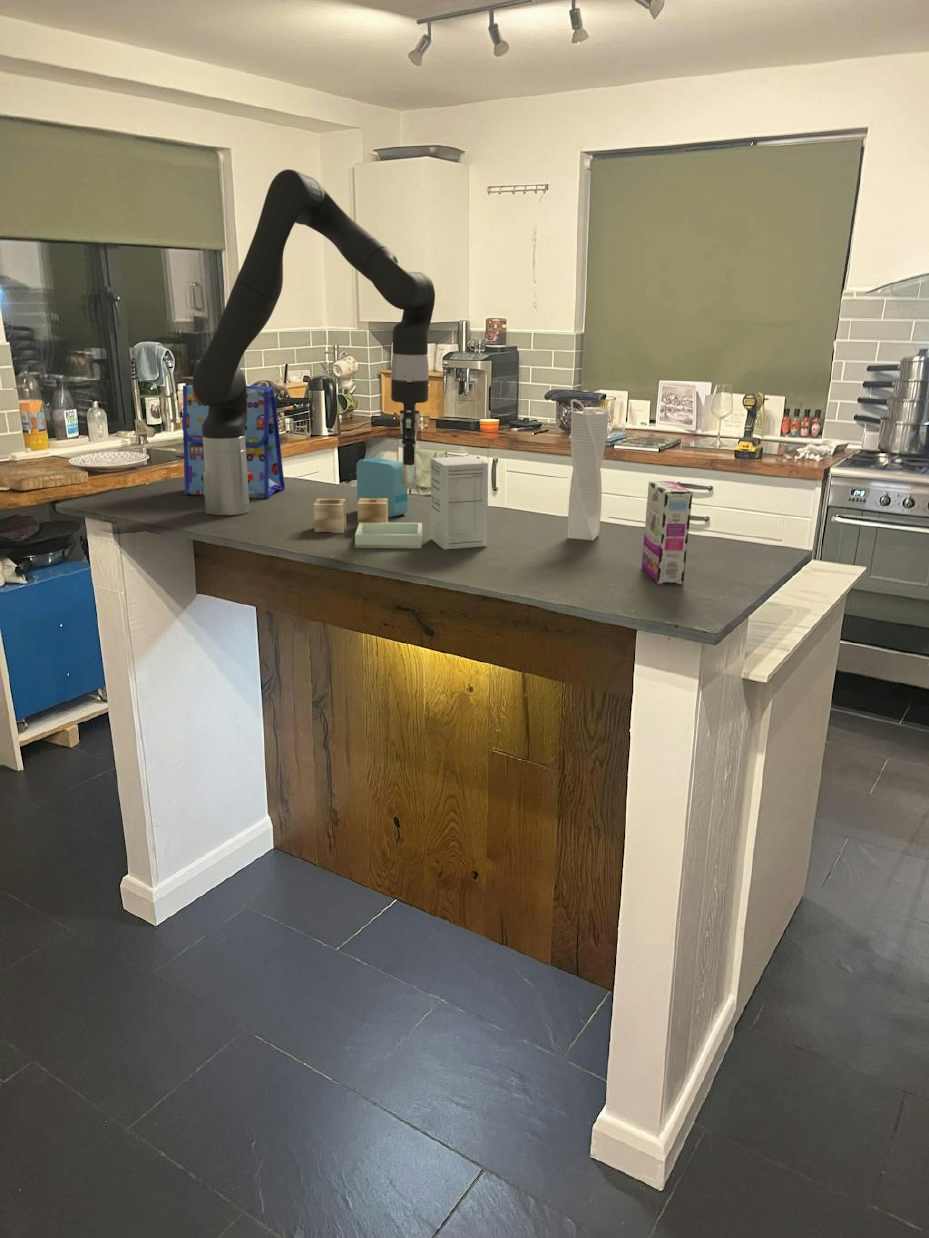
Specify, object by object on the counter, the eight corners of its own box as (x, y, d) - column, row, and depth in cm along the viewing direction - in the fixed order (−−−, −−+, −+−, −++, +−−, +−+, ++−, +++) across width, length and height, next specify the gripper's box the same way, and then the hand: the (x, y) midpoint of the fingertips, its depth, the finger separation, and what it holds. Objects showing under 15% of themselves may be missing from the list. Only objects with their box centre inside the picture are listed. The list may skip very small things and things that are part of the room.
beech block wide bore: (314, 532, 196) (313, 504, 194) (318, 526, 202) (317, 498, 200) (343, 533, 196) (342, 504, 194) (346, 526, 202) (345, 499, 200)
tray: (355, 547, 184) (354, 535, 183) (359, 534, 195) (359, 522, 194) (421, 548, 185) (421, 535, 184) (422, 535, 195) (422, 522, 194)
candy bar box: (685, 585, 162) (694, 492, 157) (657, 585, 162) (665, 492, 157) (667, 568, 173) (674, 480, 168) (640, 568, 173) (647, 480, 167)
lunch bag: (184, 496, 231) (173, 376, 222) (206, 486, 244) (197, 372, 234) (269, 499, 228) (262, 378, 219) (286, 489, 241) (280, 373, 232)
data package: (408, 515, 213) (407, 462, 209) (394, 518, 210) (393, 465, 206) (370, 507, 220) (369, 456, 217) (356, 510, 217) (355, 459, 213)
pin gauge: (402, 488, 194) (402, 420, 189) (402, 486, 197) (403, 418, 192) (415, 489, 194) (416, 420, 189) (415, 486, 197) (416, 419, 192)
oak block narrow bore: (358, 531, 197) (357, 503, 195) (360, 525, 203) (359, 498, 201) (386, 532, 197) (386, 504, 195) (388, 525, 203) (387, 498, 201)
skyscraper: (559, 538, 194) (565, 400, 185) (568, 530, 200) (574, 397, 191) (597, 542, 191) (605, 402, 182) (604, 534, 198) (612, 399, 189)
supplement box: (473, 536, 195) (474, 455, 189) (488, 546, 186) (490, 462, 181) (429, 539, 192) (429, 457, 186) (442, 550, 184) (443, 464, 178)
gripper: (392, 374, 195) (392, 457, 200) (389, 379, 181) (389, 468, 187) (428, 375, 195) (427, 458, 200) (428, 380, 181) (426, 469, 187)
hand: (409, 462), depth 194 cm, fingers closed on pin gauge, 2 cm apart
